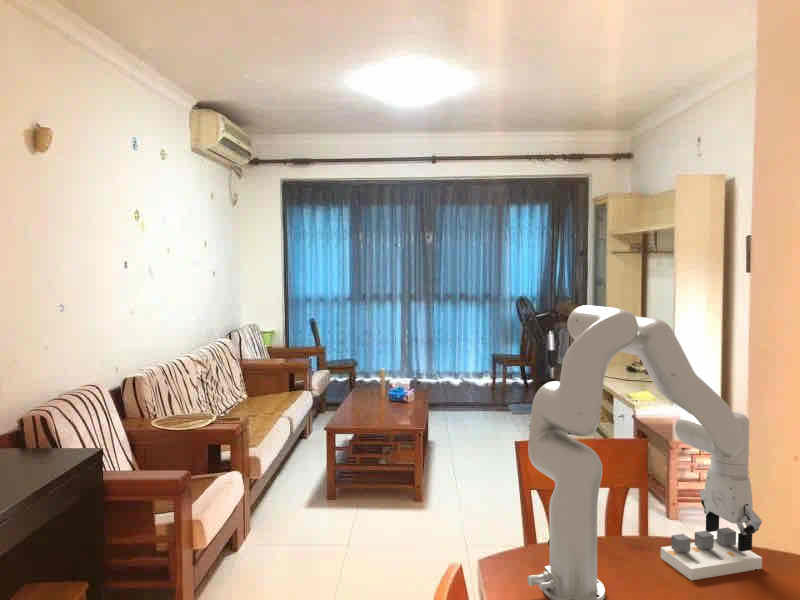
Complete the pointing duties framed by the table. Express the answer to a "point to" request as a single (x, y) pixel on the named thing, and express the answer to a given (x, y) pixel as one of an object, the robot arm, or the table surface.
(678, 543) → the left switch
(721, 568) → the switch box
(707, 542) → the middle switch
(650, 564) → the table surface
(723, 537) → the right switch
